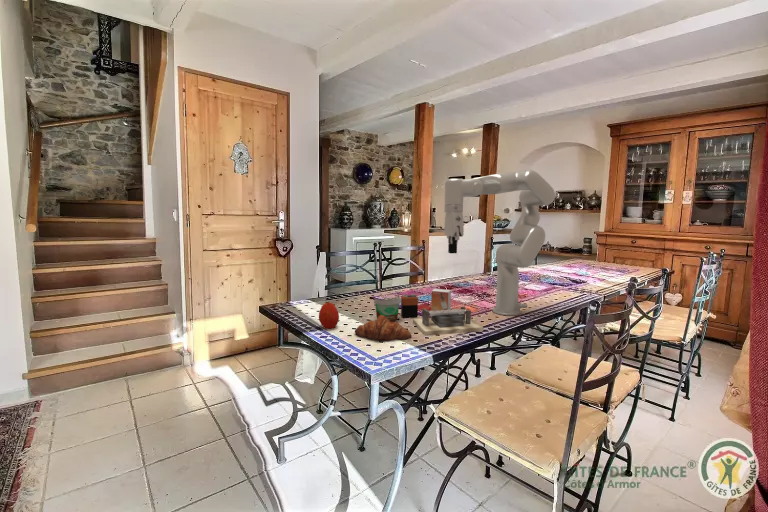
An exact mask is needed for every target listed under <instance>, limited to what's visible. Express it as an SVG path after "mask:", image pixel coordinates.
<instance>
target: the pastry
mask: <svg viewBox="0 0 768 512" xmlns="http://www.w3.org/2000/svg"><path fill="white" fill-rule="evenodd" d="M354 334H355V336H359V337H360V338H365V339H366V338H368V339H370V340H372V341H376V342H389V341H394V340H397V341H399V340H400V341H402V340H408V339H410V338H412V333H411V332H410V331H409V330H408V329H406V328H405V327H404V326H402V325H401V324H400V323H399V322H398V321H396V322H390V321H389V320H388V319H387V318H386V317H385V316H383V315H380V316H379V317H378V318H377V317H376V319H375V320H368V321H367V322H365V323H364V324H361V325H358V326H357V327H356V328H355V330H354Z"/></svg>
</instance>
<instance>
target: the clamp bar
mask: <svg viewBox="0 0 768 512" xmlns="http://www.w3.org/2000/svg"><path fill="white" fill-rule="evenodd" d="M466 310H467V309H466V308H465V309H461V308H455V309H450V310H437V311H431V310H428V311H429V317H432V316H439V315H453V314H459V315H461V314H465V315H466Z"/></svg>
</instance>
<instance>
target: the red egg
mask: <svg viewBox="0 0 768 512" xmlns="http://www.w3.org/2000/svg"><path fill="white" fill-rule="evenodd" d="M339 320H340V314H339V311H338V309H337V307H336V305H335V304H334V302H333V303H332V302H330V301H328V302H325V303H324V304H323V305H322V306H321V308H320V309H319V312H318V321H319V323H320V326H321V327H323V328H324V329H327V330H328V329H329V330H333V329H335V328H336V327H337V325H338V323H339Z"/></svg>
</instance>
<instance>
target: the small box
mask: <svg viewBox="0 0 768 512" xmlns="http://www.w3.org/2000/svg"><path fill="white" fill-rule="evenodd" d="M430 298H431V301H430V311H437V310H451V302H452V300H451V299H452V290H451V289H441V288H433V289H432V290H431V297H430Z"/></svg>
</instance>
